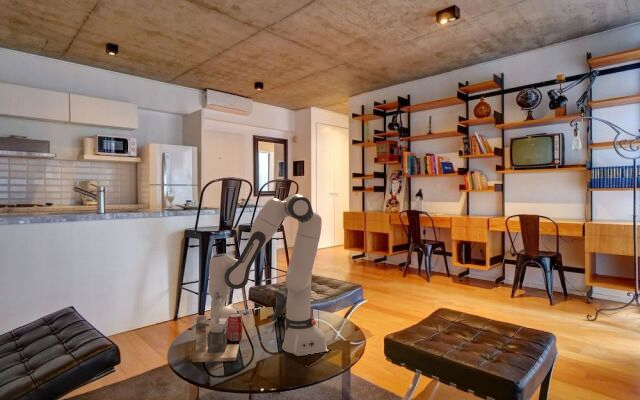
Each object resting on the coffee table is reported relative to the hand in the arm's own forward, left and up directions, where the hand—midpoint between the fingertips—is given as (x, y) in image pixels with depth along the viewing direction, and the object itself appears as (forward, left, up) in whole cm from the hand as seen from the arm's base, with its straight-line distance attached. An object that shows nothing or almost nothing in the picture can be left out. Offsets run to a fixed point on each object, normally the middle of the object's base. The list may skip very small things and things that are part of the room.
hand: (217, 321), depth 163 cm
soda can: (-6, -15, -14) cm, 22 cm away
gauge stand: (0, +2, -14) cm, 14 cm away
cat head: (0, -29, -14) cm, 32 cm away
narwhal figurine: (-29, -46, -14) cm, 56 cm away
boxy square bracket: (+2, 0, -9) cm, 10 cm away
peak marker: (+7, +3, -2) cm, 8 cm away
